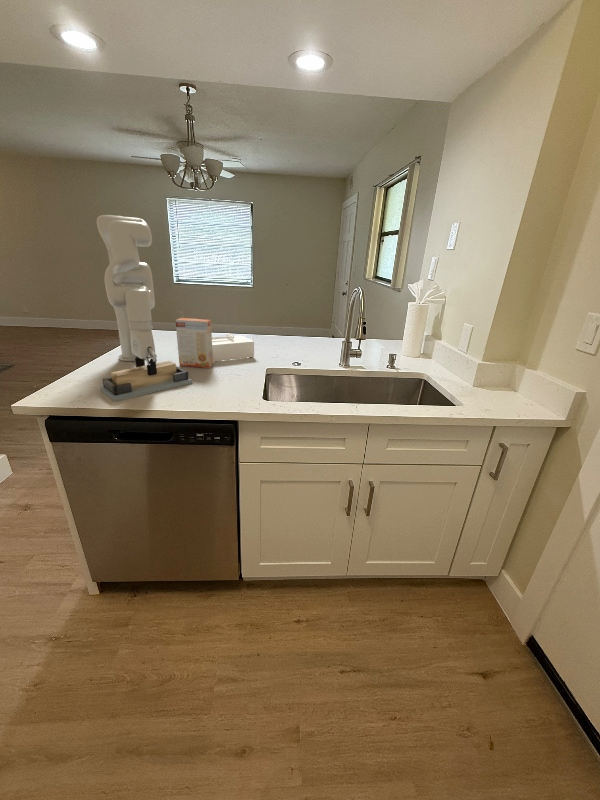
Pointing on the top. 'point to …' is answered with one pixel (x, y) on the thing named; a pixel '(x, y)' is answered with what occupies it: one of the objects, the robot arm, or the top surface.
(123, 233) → the robot arm
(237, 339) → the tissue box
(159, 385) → the rail base
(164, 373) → the slat
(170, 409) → the top surface
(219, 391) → the top surface
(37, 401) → the top surface
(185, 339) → the cracker box
